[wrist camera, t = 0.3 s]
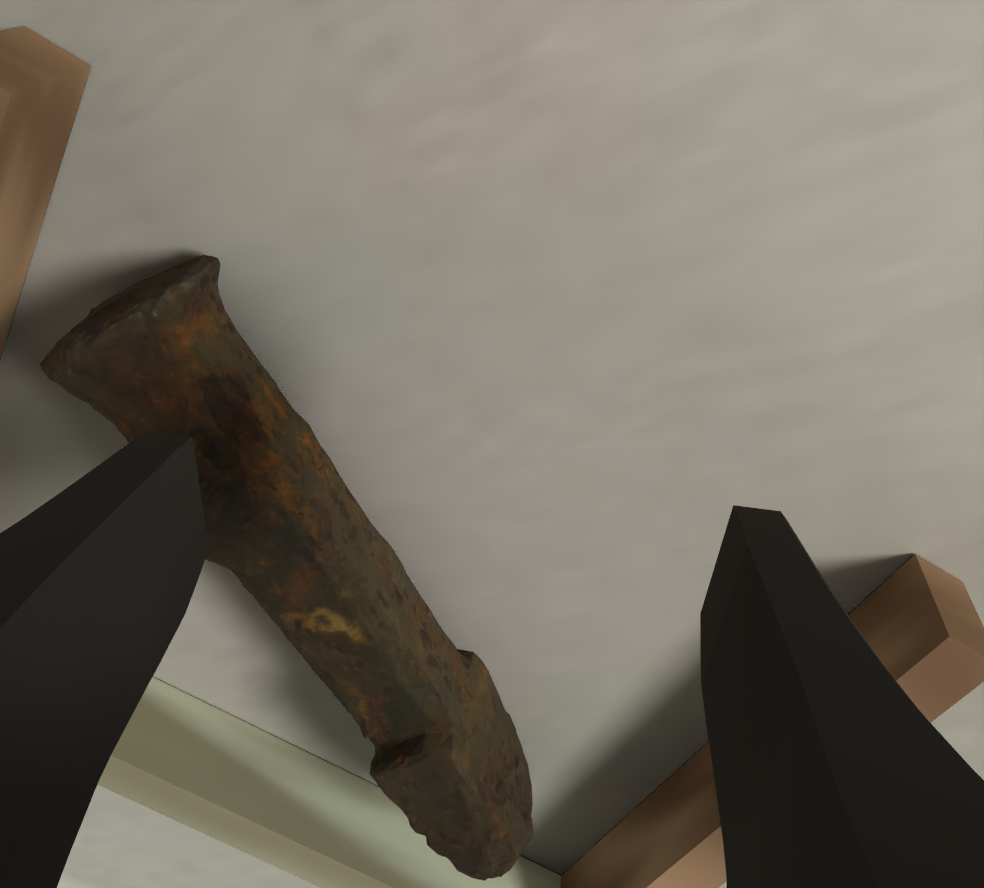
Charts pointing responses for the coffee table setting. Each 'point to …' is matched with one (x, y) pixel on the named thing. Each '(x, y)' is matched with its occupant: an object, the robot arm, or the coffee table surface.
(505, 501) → the coffee table surface
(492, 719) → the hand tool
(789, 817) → the robot arm
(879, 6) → the coffee table surface
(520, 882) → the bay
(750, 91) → the coffee table surface
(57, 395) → the coffee table surface
